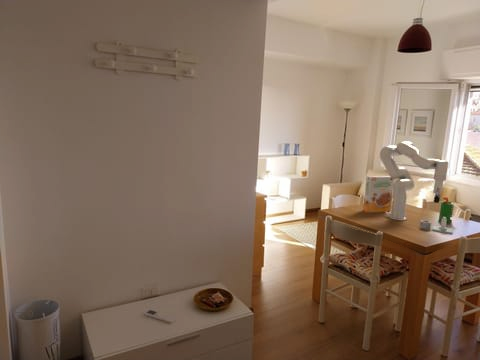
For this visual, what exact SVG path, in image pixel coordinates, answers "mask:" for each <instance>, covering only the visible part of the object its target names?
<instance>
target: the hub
mask: <svg viewBox="0 0 480 360" xmlns="http://www.w3.org/2000/svg"><path fill="white" fill-rule="evenodd" d="M419 223H420V224H419V229H421V230H425V231H426V230H427V231H428V230H429V231H430V230H431V227H432V221H429V220H425V219H424V220H423V219H422V220H420V222H419Z"/></svg>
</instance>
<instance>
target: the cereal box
mask: <svg viewBox="0 0 480 360" xmlns="http://www.w3.org/2000/svg"><path fill="white" fill-rule="evenodd" d="M394 180H395V179H392V178H391V177H390V175H366V177H365V185H364V186H365V188H364V197H363V205H362V206H363V207H362V211H363V210H364V212H365V213H382V212H383V213H386V211H389V212H391V210H392V208H391V207H392V201H393V193H394V189H393V185H394V182H395V181H394Z"/></svg>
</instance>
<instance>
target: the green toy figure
mask: <svg viewBox="0 0 480 360" xmlns="http://www.w3.org/2000/svg"><path fill="white" fill-rule="evenodd" d="M442 200H443V201H441V202H440V208H439V209H440V210H439V215H438V222H439V223H441V221H442V219H443V217H446V220H447V221H446V225H450V224H451V225H452V222H453V219H451V218H453V213H454V209H455V208H454V207H455V205H454V204H452V202H451V201H449V198H448V197H447V196H443V197H442Z"/></svg>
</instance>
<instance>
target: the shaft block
mask: <svg viewBox="0 0 480 360" xmlns="http://www.w3.org/2000/svg"><path fill="white" fill-rule="evenodd" d="M446 221H447V220H446V217H443V219H442V221H441V222H440V225H435V224H434V225H433V226H432V231H433V232H439V233H444V234H449V235H452V234H453V230H454V228H452V227H447V224H446Z"/></svg>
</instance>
